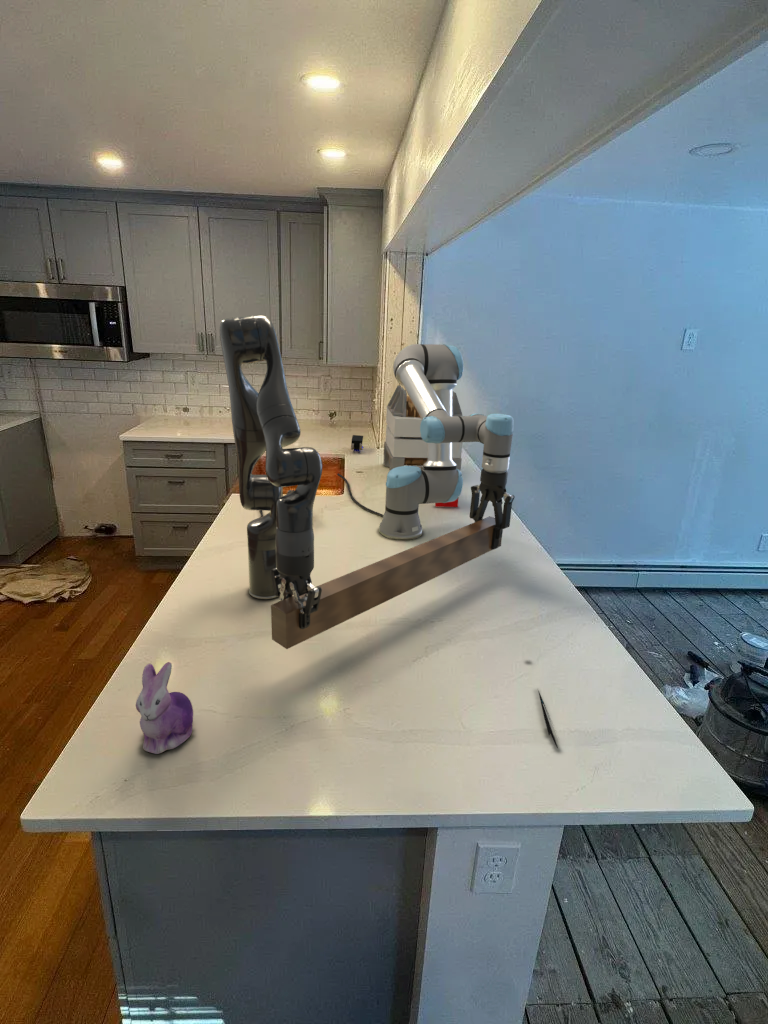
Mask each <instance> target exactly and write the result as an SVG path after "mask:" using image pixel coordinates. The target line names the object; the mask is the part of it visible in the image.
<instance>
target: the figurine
mask: <svg viewBox="0 0 768 1024" xmlns="http://www.w3.org/2000/svg"><path fill="white" fill-rule="evenodd" d="M172 667H173V665H172V662H170V661H168V662H166V663H164V664H163V665H162V667H161V668H160V669H159V671H158V672H156V669H155V667H154V665H153V664H152V663H147V664H146V665H145V666H144V668H143V670H142V675H141V684H142V688H141V690H140V692H139V694H138V696H137V698H136V701H135V709H136V711H137V712H138V713H139V714H140V719H139V727H140V729H141V732H142V734H143V736H144V737H143V738H144V739H143V744H142V748H143V750H144V751H145V752H147V753H148V752H149V753H152V754H155V755H157V754H162V753H163V752H165V751H167V750H173V749H175V748H177V747H179V746H181V745H182V744H183V743H184V742H185V741H187V740H188V739H190V737H191V736H192V732H193V723H194V708H193V704H192V702H191V699H190V698H189V697H188V695H186V694H185V693H184V692H180V691H172V692H171V691H170V692H169V690H168V684H169V681H170V677H171V673H172Z"/></svg>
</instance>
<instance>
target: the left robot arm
mask: <svg viewBox="0 0 768 1024" xmlns="http://www.w3.org/2000/svg"><path fill="white" fill-rule="evenodd" d="M275 329H276V328H275V327H274V324H273V322H272V321H271V319H270V318H269V317H268V316H267V315H264V314H255V315H245V316H235V317H228V318H224V319H223V320H221V322H220V325H219V340H220V345H221V346H220V348H221V352H222V357H223V363H224V368H225V373H226V374H225V375H226V379H227V380H226V381H227V385H228V391H229V392H228V393H229V404H230V414H231V425H232V432H233V433H232V434H233V439H234V445H235V451H236V459H237V473H238V474H237V475H238V493H239V495H238V496H239V501H240V505H241V506H242V508H243V509H244V510H247V511H259V513H260V517H258V518H257V517H256V518H255V519H252V520H251V521H249V523H247V525H246V540H247V541H246V542H247V562H248V563H247V564H248V584H249V585H248V587H249V589H248V594H249V595H250V596H251V597H252V598H255V599H258V600H272V599H277V598H279V602H280V601H282V600H284V599H287V598H289V597H292V596H294V600H295V603H297V604H298V608H299V612H300V613H299V628H301V629H305V628H307V627H309V625H310V614H311V613H313V612H316V611H318V607H319V602H320V597H321V592H322V589H321V587H320V586H319V585H318V586H319V587H316V586H315V585H314V584H313V581H312V578H311V574H312V571H314V568H315V532H314V503H315V500H316V496H317V492H318V489H319V485H320V481H321V480H322V479H321V478H322V474H323V459H322V456H321V455H320V453H319V452H318V450H316V448H313V447H311V446H302V447H290V448H285V447H288V446H291V445H293V444H295V443H296V442H297V441H298V440H299V439H300V437H301V431H302V430H301V427H300V424H299V421H298V418H297V415H296V412H295V410H294V407H293V404H292V401H291V397H290V394H289V389H288V385H287V379H286V373H285V369H284V364H283V359H282V355H281V350H280V345H279V340H278V336H277V333H276V330H275ZM259 362H266V371H265V375H264V379H263V381H262V384H261V386H260V388H259V391H257V390H256V388H254V387H253V385H252V384H251V383H250V381H249V380H248V379H247V377H246V375H245V374H244V372H243V370H242V365H243V364H252V363H259ZM264 454H265V466H264V468H265V474H254V473H253V471H254V468H255V467H256V465H257V463H258V462H259V460H260V459H261V458H262V456H263V455H264ZM293 486H294V487H295V486H296V488H295V489H294V491H293V492H292V493H290V494H287V493H286V494H287V495H286V494H285V495H284V488H287V487H293ZM263 511H269V512H268V513H266V514H264V512H263ZM304 594H305V596H304V597H301V598H300V597H299V596H301V595H304ZM304 601H305V602H306V606H305V607H304V606H303V602H304ZM312 605H313V606H312Z"/></svg>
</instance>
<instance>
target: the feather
mask: <svg viewBox="0 0 768 1024" xmlns="http://www.w3.org/2000/svg"><path fill="white" fill-rule="evenodd" d="M528 662H530V660H528ZM537 691H538V697H539V700H540V705H541V710H542V714H543V719H544V722H545V726H546V730H547V734H548V736H551V738H552V740H553V742H554V745H555V747H556V748H557V749H559V748H558V745H557V742H556V741H557V740H556V738H557V736H558V735H554V733H556V732H555V731H556V730H553V728H552V725H554V724H553V720H552V718H551V717H550V714H549V712H548V709H547V707H546V704H545V702H544V700H543V698H542V696H541V693H540V691H539V689H537ZM549 720H550V721H549ZM555 737H556V738H555ZM557 739H560V738H559V736H558V738H557ZM550 743H551V741H550Z"/></svg>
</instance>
